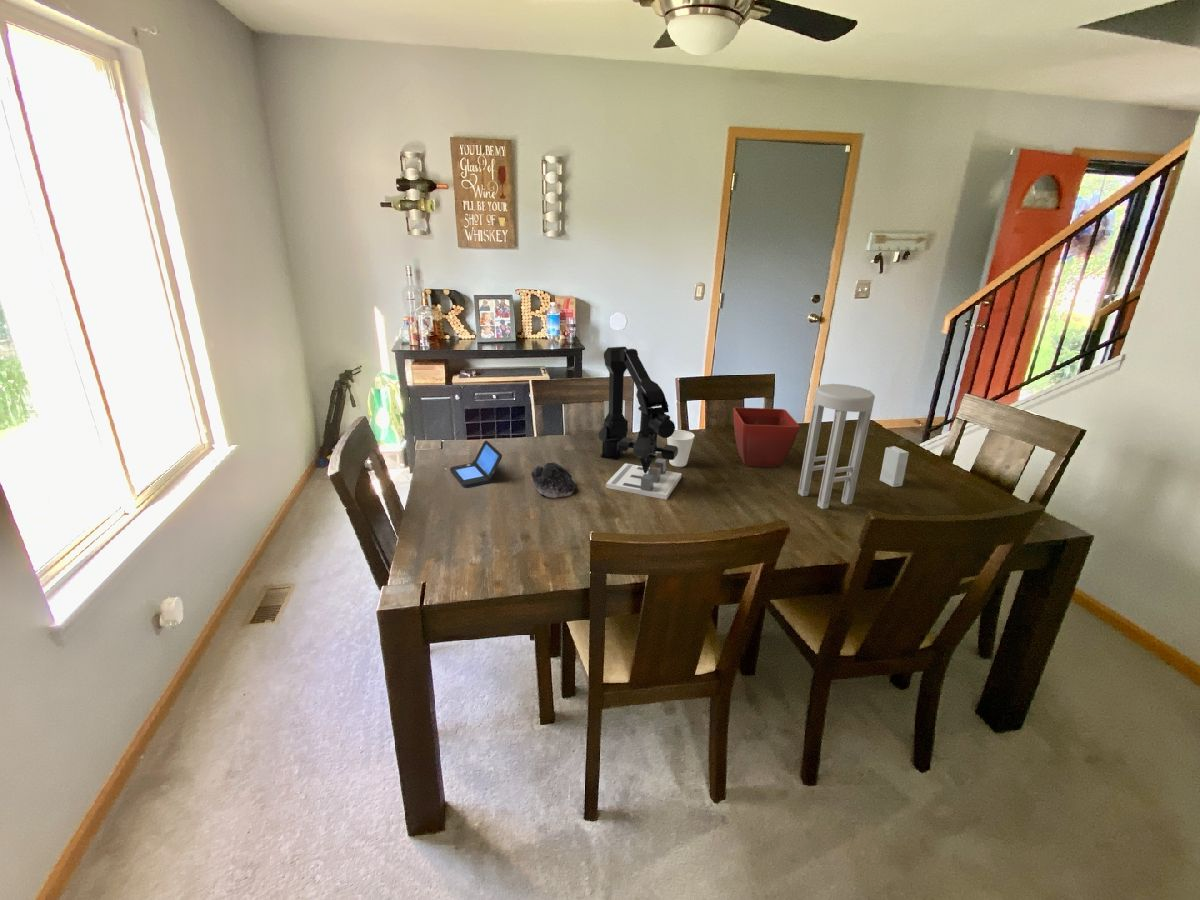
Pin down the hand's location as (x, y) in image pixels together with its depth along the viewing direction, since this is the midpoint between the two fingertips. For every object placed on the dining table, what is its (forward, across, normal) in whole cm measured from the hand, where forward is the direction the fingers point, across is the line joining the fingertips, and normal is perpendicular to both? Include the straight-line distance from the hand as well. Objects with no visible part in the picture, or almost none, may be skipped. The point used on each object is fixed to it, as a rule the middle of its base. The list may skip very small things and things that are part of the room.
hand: (645, 472), depth 184 cm
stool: (+3, +55, +13) cm, 56 cm away
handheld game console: (+5, -52, -18) cm, 56 cm away
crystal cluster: (+4, -24, -17) cm, 30 cm away
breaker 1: (+2, +3, -7) cm, 8 cm away
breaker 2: (+2, +3, +7) cm, 8 cm away
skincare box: (+3, +75, +35) cm, 83 cm away
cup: (+4, +6, +20) cm, 21 cm away
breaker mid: (+2, +3, 0) cm, 3 cm away
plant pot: (+3, +32, +36) cm, 48 cm away
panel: (+4, 0, 0) cm, 4 cm away
